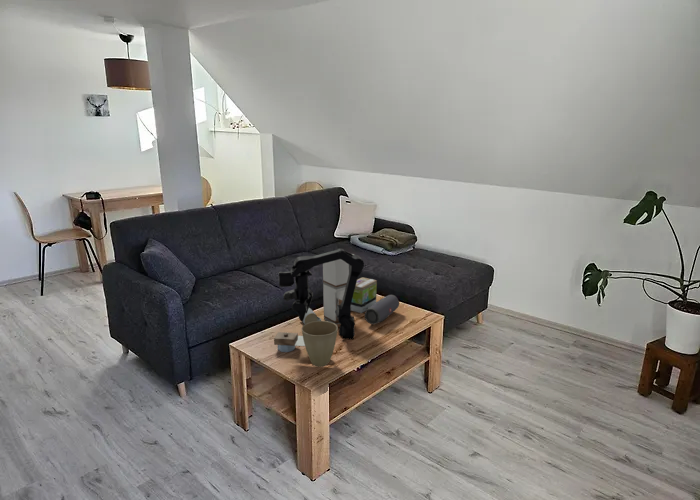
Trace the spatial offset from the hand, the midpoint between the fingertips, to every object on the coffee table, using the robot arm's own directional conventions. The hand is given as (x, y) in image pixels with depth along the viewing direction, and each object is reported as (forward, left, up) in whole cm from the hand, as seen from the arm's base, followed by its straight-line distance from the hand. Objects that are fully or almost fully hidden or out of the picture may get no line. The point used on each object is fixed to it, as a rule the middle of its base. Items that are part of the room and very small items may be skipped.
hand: (303, 317), depth 215 cm
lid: (+6, +11, -8) cm, 14 cm away
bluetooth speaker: (-34, -29, -12) cm, 47 cm away
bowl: (+6, +11, -12) cm, 17 cm away
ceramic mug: (+1, -19, -12) cm, 23 cm away
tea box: (-22, -43, -12) cm, 50 cm away
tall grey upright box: (-12, -25, -12) cm, 30 cm away
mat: (+3, +3, -12) cm, 12 cm away
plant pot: (-11, +20, -12) cm, 26 cm away
